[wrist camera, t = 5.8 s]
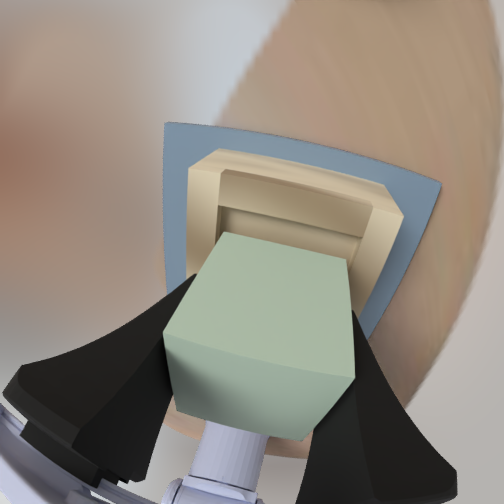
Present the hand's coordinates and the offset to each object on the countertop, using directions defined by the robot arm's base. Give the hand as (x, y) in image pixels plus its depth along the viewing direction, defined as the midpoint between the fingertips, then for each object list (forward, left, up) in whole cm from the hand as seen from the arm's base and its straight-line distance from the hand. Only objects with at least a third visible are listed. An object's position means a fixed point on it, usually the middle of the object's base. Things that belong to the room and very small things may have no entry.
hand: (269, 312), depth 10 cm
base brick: (0, 0, -6) cm, 6 cm away
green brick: (0, 0, -1) cm, 1 cm away
